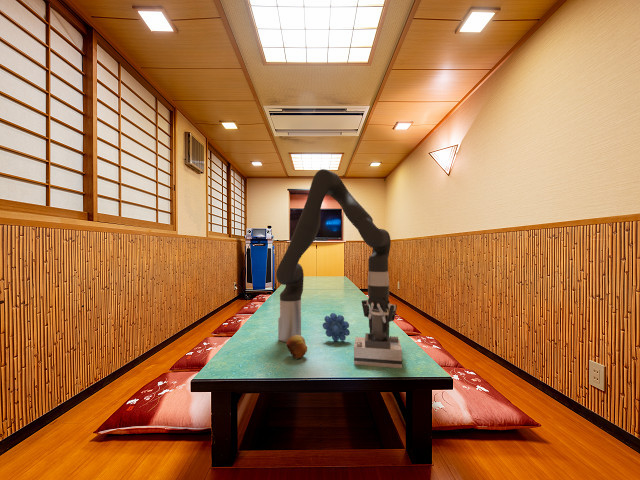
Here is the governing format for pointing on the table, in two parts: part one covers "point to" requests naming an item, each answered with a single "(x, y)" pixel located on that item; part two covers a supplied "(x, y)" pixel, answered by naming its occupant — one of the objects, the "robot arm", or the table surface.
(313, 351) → the table surface
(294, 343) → the fruit
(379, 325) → the flashlight
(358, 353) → the box with square recess
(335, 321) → the grapes
